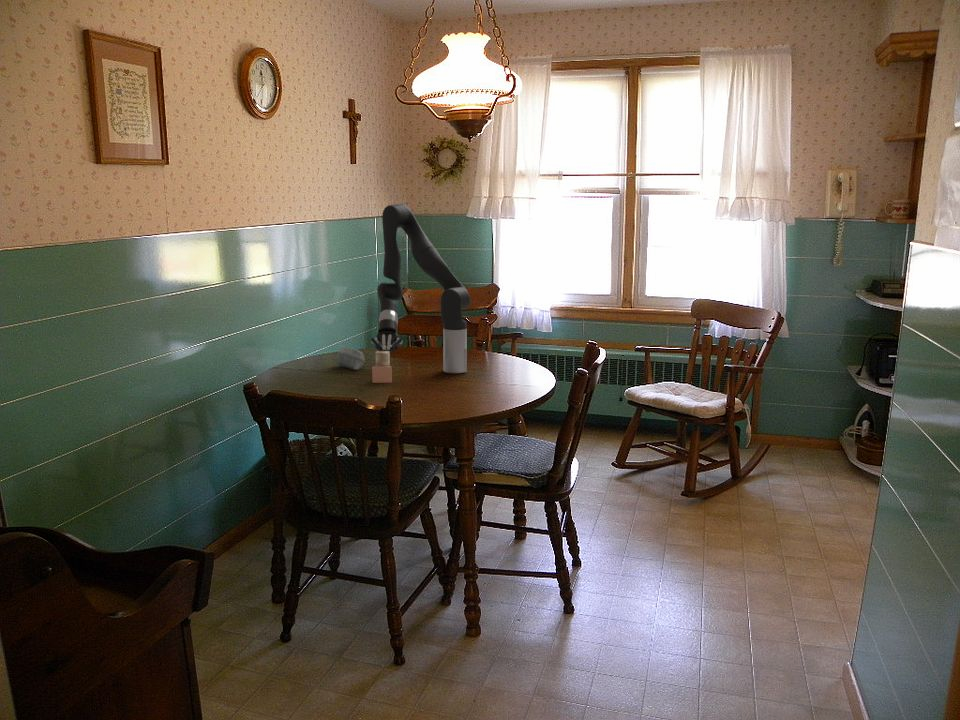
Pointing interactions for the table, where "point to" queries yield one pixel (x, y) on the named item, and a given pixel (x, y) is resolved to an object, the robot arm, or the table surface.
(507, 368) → the table surface
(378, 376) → the block
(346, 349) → the grey rounded lump
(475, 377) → the table surface
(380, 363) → the keeper
